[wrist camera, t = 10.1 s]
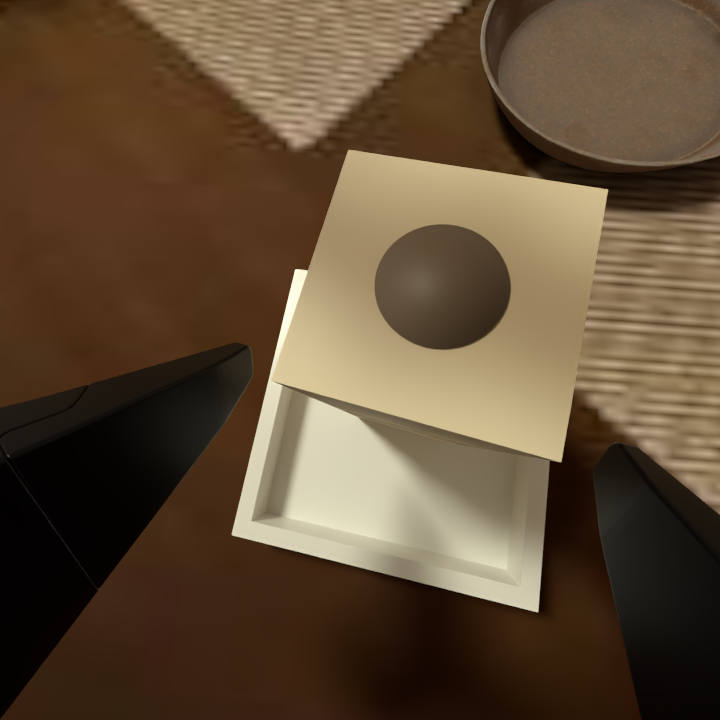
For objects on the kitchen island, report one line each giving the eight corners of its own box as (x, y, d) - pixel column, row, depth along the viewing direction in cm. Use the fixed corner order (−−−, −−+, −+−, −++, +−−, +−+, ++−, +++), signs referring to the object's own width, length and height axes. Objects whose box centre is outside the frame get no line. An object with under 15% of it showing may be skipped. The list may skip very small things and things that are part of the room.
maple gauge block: (447, 442, 18) (562, 462, 5) (357, 416, 19) (270, 379, 6) (468, 353, 19) (609, 187, 6) (381, 332, 20) (347, 147, 7)
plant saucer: (772, -8, 23) (828, -75, 20) (752, 225, 19) (816, 188, 16) (499, -25, 26) (512, -85, 23) (444, 176, 22) (451, 136, 19)
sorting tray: (518, 586, 17) (538, 612, 14) (253, 521, 19) (231, 534, 16) (541, 318, 19) (561, 301, 17) (307, 287, 21) (295, 268, 19)
